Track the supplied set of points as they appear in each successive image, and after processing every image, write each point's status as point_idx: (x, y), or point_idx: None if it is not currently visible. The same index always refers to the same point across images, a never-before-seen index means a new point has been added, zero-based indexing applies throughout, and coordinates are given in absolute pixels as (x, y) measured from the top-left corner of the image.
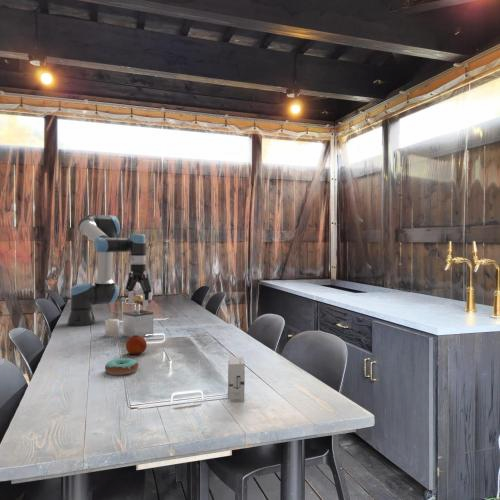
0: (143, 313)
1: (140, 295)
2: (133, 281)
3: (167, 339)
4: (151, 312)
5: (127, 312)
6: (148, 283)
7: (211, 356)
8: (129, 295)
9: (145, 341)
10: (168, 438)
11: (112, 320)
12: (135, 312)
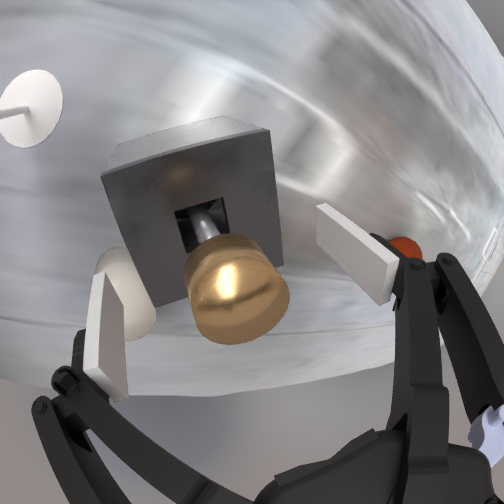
0: (272, 208)
1: (230, 286)
2: (239, 495)
3: (330, 107)
4: (270, 145)
5: (172, 287)
6: (485, 327)
7: (475, 138)
8: (124, 362)
9: (420, 249)
10: (492, 274)
11: (136, 319)
12: (181, 238)
